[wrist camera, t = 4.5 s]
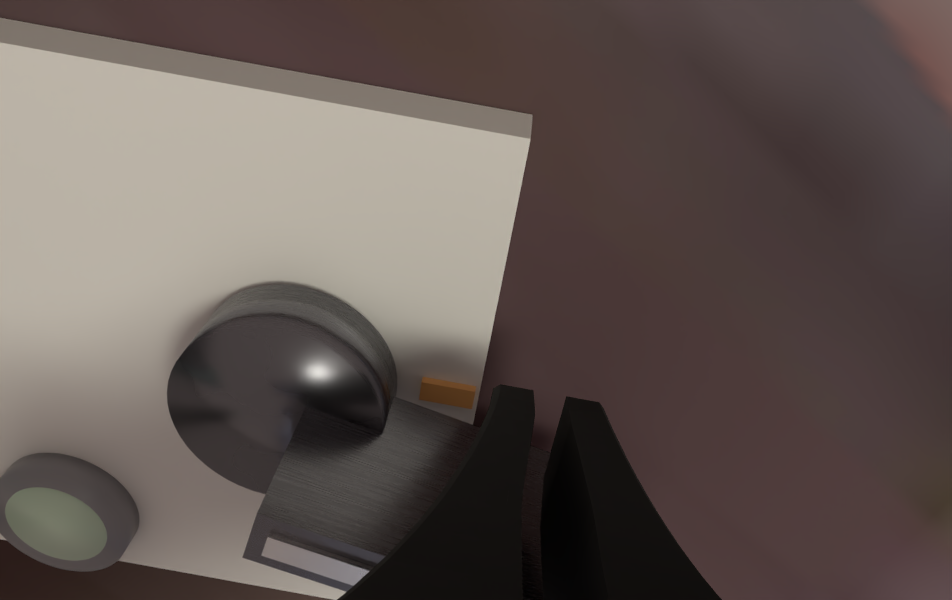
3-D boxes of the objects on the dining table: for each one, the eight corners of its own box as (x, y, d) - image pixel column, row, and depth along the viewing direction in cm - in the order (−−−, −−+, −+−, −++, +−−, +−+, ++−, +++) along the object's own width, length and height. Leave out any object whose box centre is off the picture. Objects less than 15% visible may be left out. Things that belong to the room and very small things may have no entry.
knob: (184, 408, 17) (77, 568, 13) (220, 253, 15) (102, 391, 11) (567, 542, 18) (572, 725, 14) (654, 416, 16) (686, 593, 12)
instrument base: (441, 573, 22) (430, 642, 20) (-223, 453, 22) (-299, 510, 20) (532, 115, 15) (529, 153, 13) (-462, -67, 15) (-617, -56, 13)
